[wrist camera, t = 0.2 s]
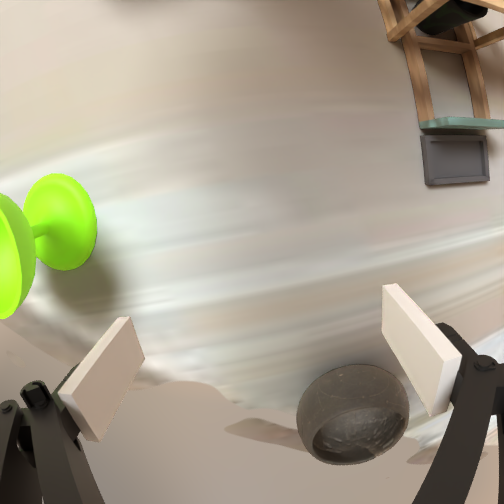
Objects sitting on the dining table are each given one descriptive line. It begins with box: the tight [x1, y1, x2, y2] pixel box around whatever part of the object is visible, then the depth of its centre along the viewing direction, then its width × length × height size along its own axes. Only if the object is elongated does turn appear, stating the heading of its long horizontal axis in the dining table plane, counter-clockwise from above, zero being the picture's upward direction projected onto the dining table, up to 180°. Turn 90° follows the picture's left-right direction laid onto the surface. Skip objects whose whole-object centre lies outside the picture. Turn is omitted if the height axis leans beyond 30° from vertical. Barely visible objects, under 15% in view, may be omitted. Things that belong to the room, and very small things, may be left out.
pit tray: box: [420, 135, 490, 185], centre depth 37 cm, size 7×12×2 cm, turn 99°
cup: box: [412, 0, 488, 35], centre depth 26 cm, size 8×8×12 cm
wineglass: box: [0, 174, 97, 319], centre depth 35 cm, size 16×16×18 cm
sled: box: [390, 0, 504, 130], centre depth 29 cm, size 24×12×8 cm, turn 9°
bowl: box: [297, 364, 409, 465], centre depth 44 cm, size 18×18×13 cm
